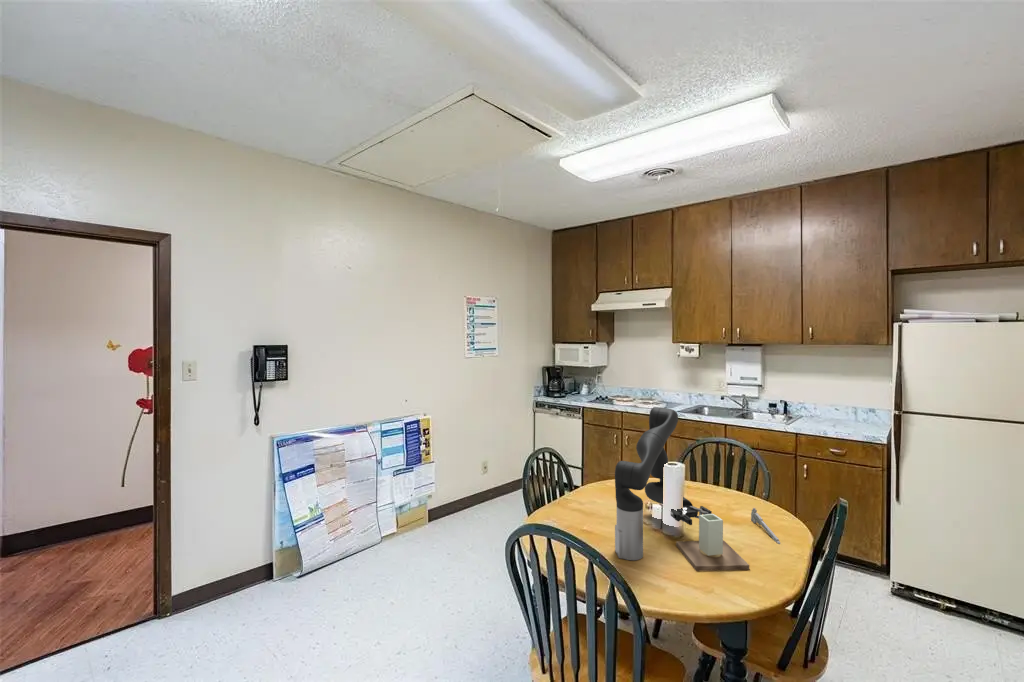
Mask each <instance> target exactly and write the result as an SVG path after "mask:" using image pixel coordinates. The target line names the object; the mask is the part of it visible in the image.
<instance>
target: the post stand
mask: <svg viewBox="0 0 1024 682" xmlns="http://www.w3.org/2000/svg"><path fill="white" fill-rule="evenodd" d="M675 546H676V547H677V548H678V549H679V551H680V552H681V554H682V555H683V556H684V557H685V559H686V560H687V561H688V563H689V564H690V566H692V567H693V569H694V570H695V571H696V572H697V571H698V572H700V571H701V572H702V571H737V570H738V571H744V570H747V571H748V570H750V564H749V563H748V562H747V561H746V560H745V559H744V558H743V557H742V556H741V555H740V554H739V553H737V551H736V550H735V549H733V548H732V547H731V545H730V544H728V543H727V542H726V541H725V540H724V539H723V554H718V555H709V556H708V555H707V554H706V553H704V552H703V551H702V550H701V549H699V540H684V541H681V540H680V541H677V540H676V541H675Z"/></svg>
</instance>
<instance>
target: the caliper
mask: <svg viewBox="0 0 1024 682" xmlns="http://www.w3.org/2000/svg"><path fill="white" fill-rule="evenodd" d="M757 511H758V510H757V509H756V507H752V509H751V513H750V520H751V522H752V523H753V524H758V525H760V526H761V527H762V528H763V529H764V530H765V532H766V533H767V534H768V535H769V536H770V537H771V539H772V540H773V541H774V542H776V544H778V545H781V542H780V539H779V537H777V535H776V534H775V533H774V532H773V531H772V529H771V528H770V527H769V526H768V525H767V524H766V522H764V520H763V518H762V516H760V514H759V513H758V512H757Z"/></svg>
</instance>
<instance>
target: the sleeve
mask: <svg viewBox="0 0 1024 682" xmlns="http://www.w3.org/2000/svg"><path fill="white" fill-rule="evenodd" d="M698 516H699V519H698V541H699V549H701V550H702V551H703V552H704V553H706V554H707V555H708V556H709V555H718V554H723V540H724V520H723V519H722V518H721V517H720V516H718V515H716V514H714V513H712V514H705V515H703V514H702V515H699V514H698Z"/></svg>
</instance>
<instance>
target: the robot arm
mask: <svg viewBox="0 0 1024 682" xmlns="http://www.w3.org/2000/svg"><path fill="white" fill-rule="evenodd" d="M648 415H649V417H648V427H649V428H648V430H646V431H644V432H643V433H642V434H641V436H640V437H639V439H638V441H637V443H636V447H635V448H636V453H637V455H638V457H639V459H640V460H641V462H633V461H625V460H619V461H618V462H617V463H616V466H615V468H614V469H615V470H614V486H615V487H614V489H615V501H616V524H615V525H614V552H615V553H616V555H617V557H618V559H623V560H626V561H638V560H640V559H643V557H644V501H643V499H642V498H641V497H640V496H638V495H636V494H635V493H633V491H632V490H634V491H642V490H644V493H645V495H646V497H647V498H648V499H649V500H651V501H652V502H656V503H658V504H661V505H663V467H664V464H666V463H668V464H669V457H668V454H667V452H666V450H665V448H664V447H665V444H666V442H667V441H668V439H669V437H670V436H671V435H672V433H674V431H675V429H676V427H677V425H678V422H679V415H678V412H677V411H676V410H674V409H671V408H666V407H661V406H660V407H659V406H654V407H652V408H651V410H650V412H649V414H648ZM650 476H651V477H652V478H655V479H659V481H651V482H650V481H649V478H650ZM705 514H713V513H712V510H710V509H708V508H707V507H705V506H703V505H700V506H699V508H698V507H696V506H694V505H693V504H692V502H691V501H690V500H688V498H686V497H684V496H683V509H682V508H681V509H677V511H676V510H674V509H671V511H670V517H672V518H673V519H674V520H675V521H676V522H681V521H682V522H683V523H686V524H688V525H689V526H692V525H693V519H692V518H695V519H698V520H699V515H705Z"/></svg>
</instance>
